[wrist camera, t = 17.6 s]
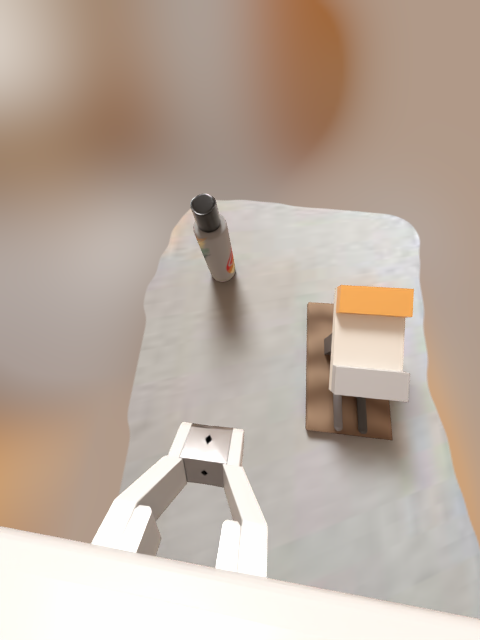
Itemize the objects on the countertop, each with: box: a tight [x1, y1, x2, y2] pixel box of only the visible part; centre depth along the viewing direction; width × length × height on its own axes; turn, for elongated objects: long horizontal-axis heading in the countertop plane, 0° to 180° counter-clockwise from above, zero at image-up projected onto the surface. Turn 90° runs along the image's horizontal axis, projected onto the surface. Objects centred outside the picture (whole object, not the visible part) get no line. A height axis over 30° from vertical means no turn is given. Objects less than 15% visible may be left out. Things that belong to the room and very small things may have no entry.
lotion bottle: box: [191, 194, 235, 282], centre depth 42 cm, size 6×6×20 cm
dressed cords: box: [333, 394, 367, 434], centre depth 39 cm, size 13×5×1 cm, turn 174°
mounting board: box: [306, 302, 392, 440], centre depth 42 cm, size 24×14×2 cm, turn 174°
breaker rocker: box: [329, 285, 414, 402], centre depth 33 cm, size 16×10×3 cm, turn 174°
